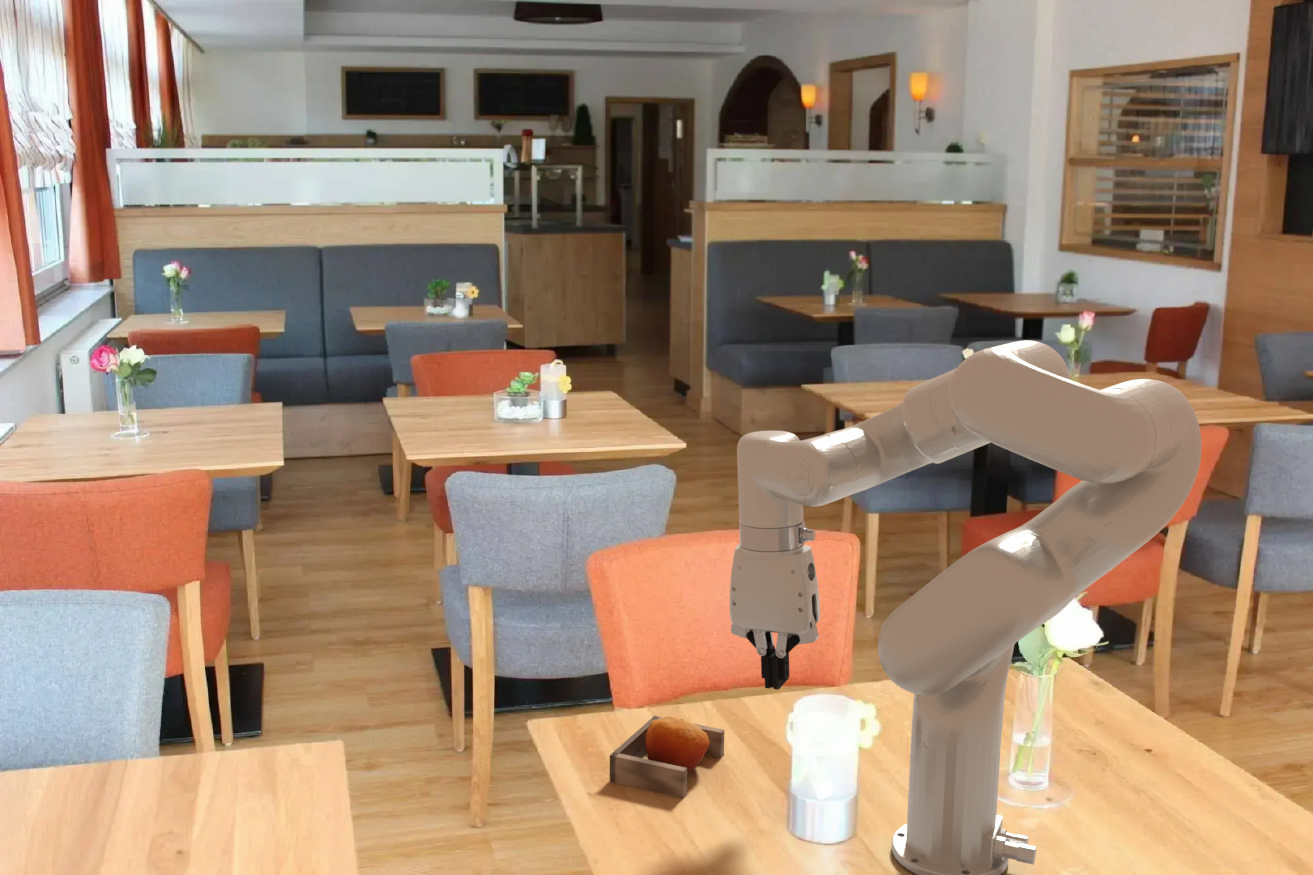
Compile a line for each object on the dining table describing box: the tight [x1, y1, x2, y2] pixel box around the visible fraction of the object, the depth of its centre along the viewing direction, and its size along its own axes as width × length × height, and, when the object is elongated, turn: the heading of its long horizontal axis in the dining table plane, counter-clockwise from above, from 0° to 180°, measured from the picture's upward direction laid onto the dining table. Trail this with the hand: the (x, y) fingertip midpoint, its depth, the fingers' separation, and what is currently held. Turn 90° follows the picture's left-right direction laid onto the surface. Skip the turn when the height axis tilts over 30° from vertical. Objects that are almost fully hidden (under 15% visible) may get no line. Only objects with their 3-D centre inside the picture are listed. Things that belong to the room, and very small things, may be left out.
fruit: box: [646, 716, 710, 775], centre depth 162 cm, size 8×8×8 cm
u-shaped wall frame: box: [609, 715, 725, 799], centre depth 163 cm, size 10×13×4 cm
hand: (775, 684), depth 154 cm, fingers closed
